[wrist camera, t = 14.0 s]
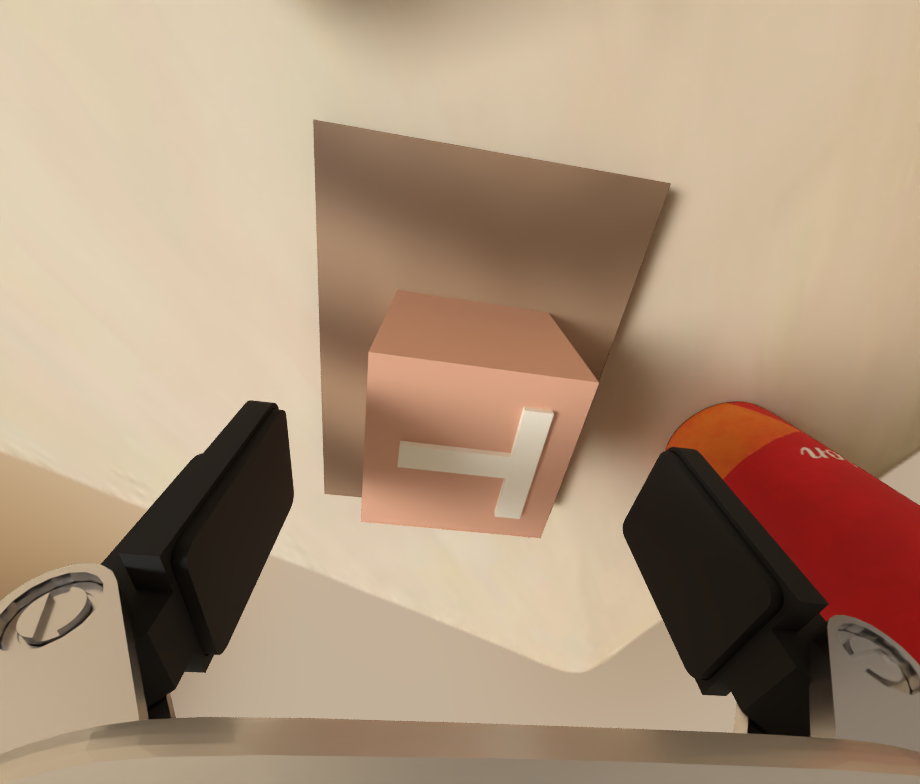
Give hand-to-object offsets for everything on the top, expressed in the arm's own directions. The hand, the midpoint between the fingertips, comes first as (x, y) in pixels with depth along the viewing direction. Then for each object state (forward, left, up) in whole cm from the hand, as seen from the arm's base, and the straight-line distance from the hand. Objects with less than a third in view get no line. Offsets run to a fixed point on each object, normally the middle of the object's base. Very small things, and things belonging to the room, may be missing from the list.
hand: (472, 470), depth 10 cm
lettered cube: (+1, 0, -7) cm, 7 cm away
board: (+1, 0, -8) cm, 8 cm away
